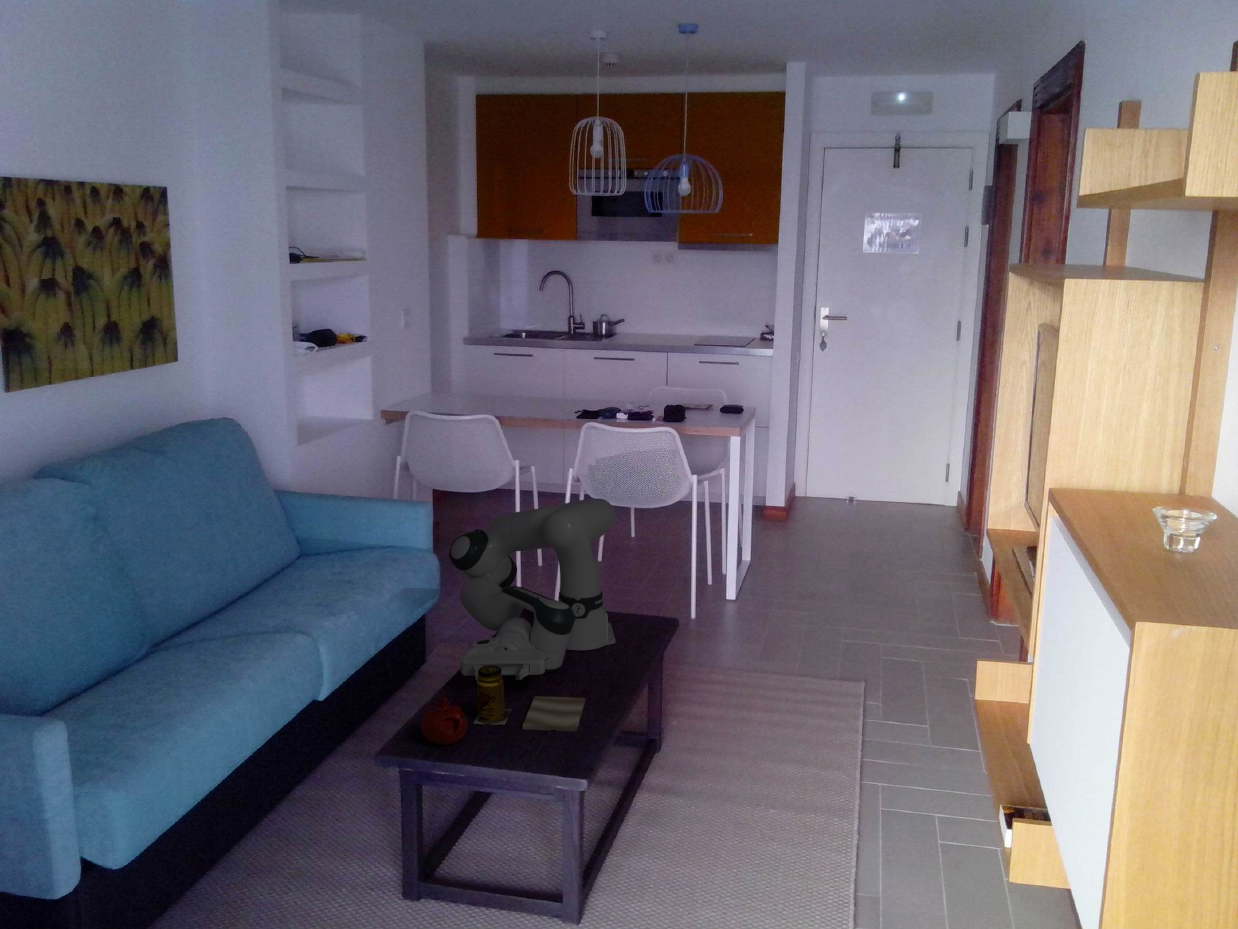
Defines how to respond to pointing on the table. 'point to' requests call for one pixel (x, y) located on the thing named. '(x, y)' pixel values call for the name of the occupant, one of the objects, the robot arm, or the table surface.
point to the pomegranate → (444, 723)
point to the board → (554, 713)
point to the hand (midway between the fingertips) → (498, 677)
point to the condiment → (491, 696)
